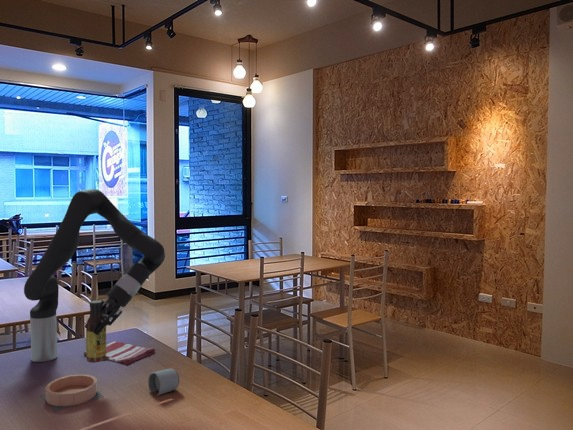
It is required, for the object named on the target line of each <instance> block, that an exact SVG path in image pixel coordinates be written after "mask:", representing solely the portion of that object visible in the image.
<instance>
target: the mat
mask: <svg viewBox="0 0 573 430" xmlns="http://www.w3.org/2000/svg"><path fill="white" fill-rule="evenodd" d="M40 397H41V398H42V399H43V400H44V401H45V402H46V403H47V401H46V399H45V393H42V394H40ZM102 398H105V396H104V395H103V394H102V393H101V392H99V391H98V390H97V394H96V396H95V397H94V398H92V399H91V400H89V401H87V402H85V403H84V404H86V403H88V402H92V401H96V400H99V399H102ZM48 405H49V406H50V408H51V409H52V410H53V411H54V412H56V413H57V412H59V411H63V410H65V409H68V408H72V407H75V406H79V405H80V404H78V405H74V406H67V407H57V406H52V405H50V404H48Z"/></svg>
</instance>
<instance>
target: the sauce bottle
mask: <svg viewBox="0 0 573 430" xmlns="http://www.w3.org/2000/svg"><path fill="white" fill-rule="evenodd" d="M102 305H103V303H102V301H101V299H100V300H99V299H98V300H91V301H89V307H90V308H89V310H90V311H89V312H90V313H89V316H88V319H87V321H86V324H85V325H86V327H87V328H85V343H86V344H85V349H86V350H85V351H86V355H85V356H86V361H87V362H88V363H93V364H95V363H101V362H103V361H104V360H105V358H106V344H107V326H105V327H104V328H103V329H102V331H101V332H100V333H99V334H98V335H96V334H95V333H93V332H92V331H93V329H94V328H95V327H96V326H97V325H98V323H99V322H100V321H101V319H102V317H103V316H102ZM100 323H101V322H100Z"/></svg>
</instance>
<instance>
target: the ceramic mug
mask: <svg viewBox="0 0 573 430" xmlns="http://www.w3.org/2000/svg"><path fill="white" fill-rule="evenodd" d="M147 384H148V388H149V392H150V393H155V392H157V391H158V393H157V394H156V396H157V397H158V396H161V395H164V394H167V393H169V392H172V391H174V390H176V389H178V387H179V386H180V376H179V372H178V371H177V370H176V369H174V368H166V369H161V370H158V371H157V370H156V371H153V372H151V373H150V374H149V376H148V378H147Z"/></svg>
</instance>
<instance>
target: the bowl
mask: <svg viewBox="0 0 573 430" xmlns="http://www.w3.org/2000/svg"><path fill="white" fill-rule="evenodd" d="M98 384H99V383H98V379H97V378H96V377H95V376H94V375H91V374H82V373H81V374H71V375H66V376H63V377H58V378H56V379H54V380H52V381H51V382H48V383H47V385H46V387H45V388H44V389H45V392H44V394H45V399H46V401H47V402H46V401H45V402H46V403H47V404H48V405H49V404H50V405H52V406H57V407H67V406H72V407H75V406H74V405H76V406H79V405H82V404H86V403H88V402H87V401H89V400H91V399H92V398H94V397H95V396H96V394H97V391H98ZM85 402H86V403H85ZM89 402H90V401H89ZM78 404H79V405H78ZM50 405H49V406H50Z"/></svg>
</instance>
